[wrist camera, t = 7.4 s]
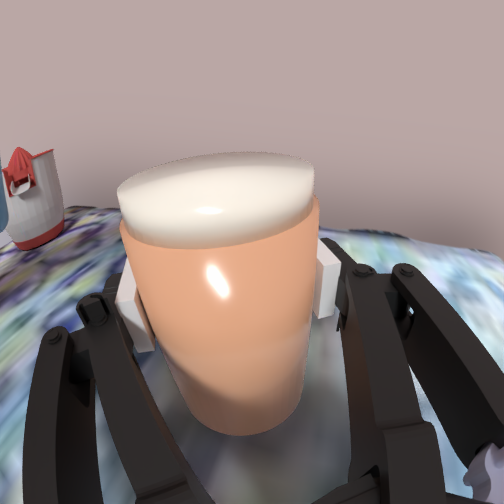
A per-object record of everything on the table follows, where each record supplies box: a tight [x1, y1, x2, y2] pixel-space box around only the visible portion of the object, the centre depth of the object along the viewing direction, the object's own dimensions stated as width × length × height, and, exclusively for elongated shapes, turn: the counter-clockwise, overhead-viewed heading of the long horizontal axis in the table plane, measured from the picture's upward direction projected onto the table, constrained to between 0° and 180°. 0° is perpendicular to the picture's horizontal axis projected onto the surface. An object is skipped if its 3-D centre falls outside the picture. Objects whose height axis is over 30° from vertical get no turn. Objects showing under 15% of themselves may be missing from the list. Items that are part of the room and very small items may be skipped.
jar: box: [117, 152, 319, 436], centre depth 12 cm, size 7×7×12 cm
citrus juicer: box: [2, 147, 64, 251], centre depth 41 cm, size 16×17×20 cm
